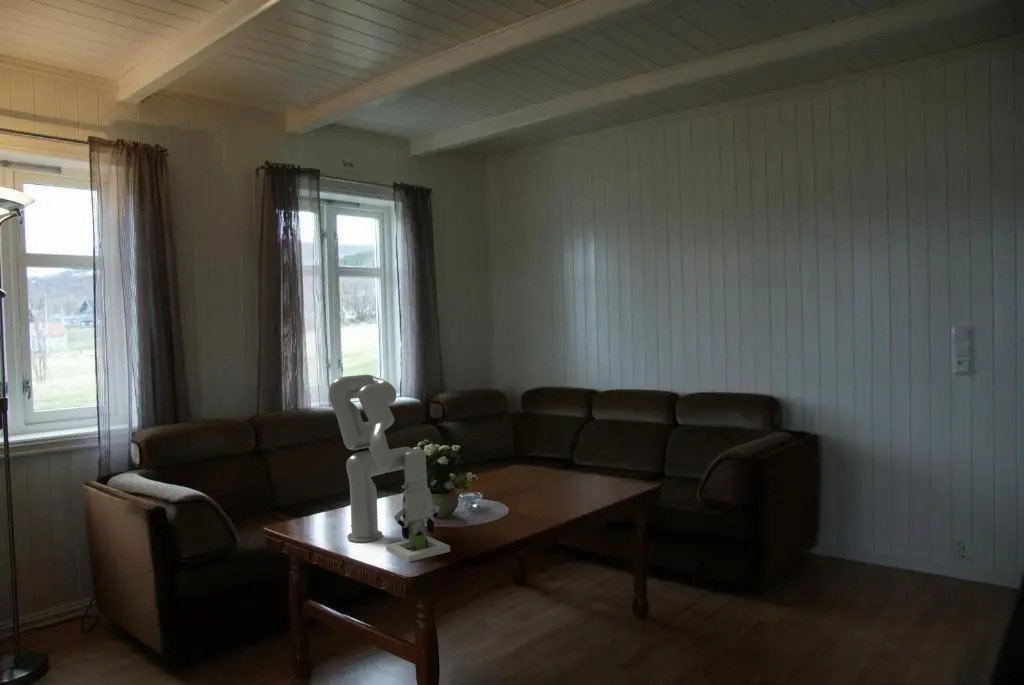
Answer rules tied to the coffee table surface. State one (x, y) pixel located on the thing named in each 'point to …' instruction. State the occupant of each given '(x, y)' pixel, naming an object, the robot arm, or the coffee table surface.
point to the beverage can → (417, 535)
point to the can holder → (402, 552)
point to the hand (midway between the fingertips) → (418, 535)
